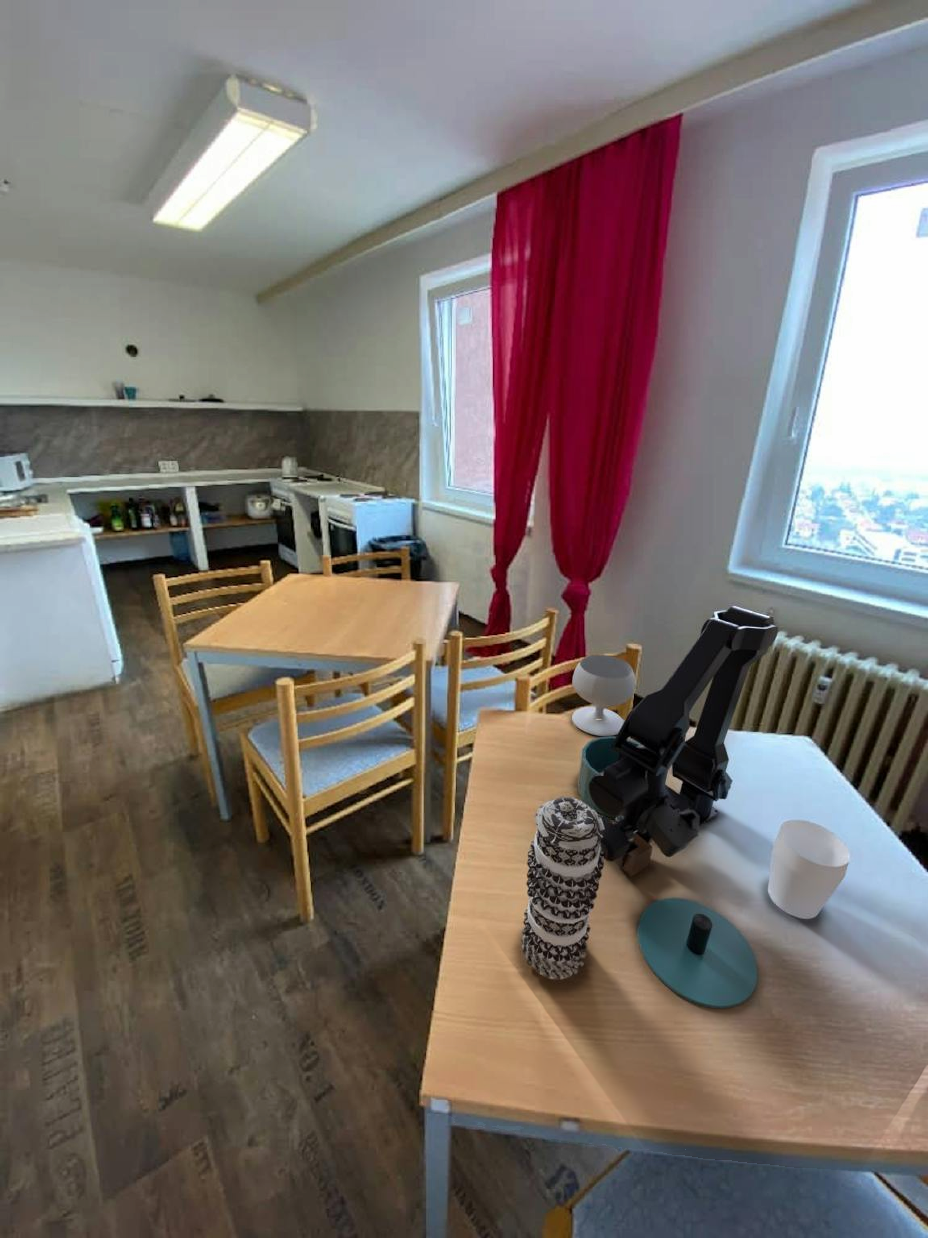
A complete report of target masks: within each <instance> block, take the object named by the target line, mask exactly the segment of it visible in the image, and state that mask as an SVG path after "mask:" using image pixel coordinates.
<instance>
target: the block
mask: <svg viewBox="0 0 928 1238" xmlns="http://www.w3.org/2000/svg"><path fill="white" fill-rule="evenodd" d="M634 835H635V836H634V839H633V842H634V843H635V844H636V845H637V846H639V847H638V848H636V849H635V850H633V851H631V852H630V853H628V856H627V859H626V861H625V864H624V866H623V867H620V866H619V865H618V864H617V863H616V860H614V861H613V862H614V863H615V864H616V865H617V866H618V867H620V868H621V869H622V870H623V871H624V872H625V873H626V874H627V875H628V876H629V877H632V876H634V875H636V874H637V873H639V872H641V871H642V870H644V869H645V868H647V867H649V865H650V862H651V856H652V853H653V848H654V847H653V846H652V845H651V843H650V844H648V843H647V842H646V841H645V840H644V839H642V838H641V837H640V836H639V835H638V834H636V833H634Z"/></svg>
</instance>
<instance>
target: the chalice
mask: <svg viewBox="0 0 928 1238" xmlns="http://www.w3.org/2000/svg"><path fill="white" fill-rule="evenodd" d="M571 683H572V687H573V689H574V691H575V692H576V693H577V695H578V696H579V697H580V698H582V699H583V700H584V701H586V702H588V703H590V704H593V706H583V707H581V708H578V709H577V710H575V711H574V712H573V713H572V716H571V720H572V722H573V725H575V726H576V727H577V728H578V729H580V730H581V731H583V732H585V733H587V734H591V735H595V736H599V737H609V736H615V735H616V736H617V734H618V733H619V731H620V729H621V727H622V725H623V723H624V722H625V720H624V719H623V718H622V717H621V716H620V715H619V714H617V713H616V712H614V711H613V710H610V709H608V708H607V707H615V706H619V705H622V704H625V703H626V702H628V701H629V700H630V699H632V697H633V695H634V694H635V692H636V676H635V672H634V670H633V668H632V666H631V664H630V663H628V662H627V661H625V660H623V659H621V658H618V657H616V656H612V655H606V654H593V655H592V654H591V655H588V656H585V657H583V658H582V659H581V660H580V661H579V662H578V664H577V665H576V667H575V669H574V671H573V675H572V681H571ZM596 719H602V720H596ZM606 721H607V722H606ZM610 721H611V722H610Z"/></svg>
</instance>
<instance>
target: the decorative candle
mask: <svg viewBox="0 0 928 1238" xmlns="http://www.w3.org/2000/svg"><path fill="white" fill-rule="evenodd" d="M600 816H601V815H599V813H598V812H597V811H595V810H593V809H592V808H591V807H589V806H588V805H587V804H586V803H585V802H584V801H583V800H581V799H577V798H574V797H563V796H562V797H559V798H555V799H552V800H548V801H546V802H544V803H543V804H542V805H540V806H539V807H538V808H537V811H536V813H535V815H534V820H535V826H536V832H535V834H534V839H533V841H532V842H531V843H530V846H529V847H530V848H529V849H530V850H529V851H528V852H527V858H528V859H527V861H526V865H527V867H528V868H529V869H528V870H527V873H526V877H527V880H526V881H525V885H526V887H527V891H526V893H527V896H528V901H527V909H526V910H524V912H523V916H524V917H525V918H524V919H523V925H524V926H523V928H522V929H521V930H522V931H521V933H522V934H521V935H522V936H521V943H522V945H521V952H522V954H524V956H525V960H526V962H527V964H528V965H530V966H531V967H532V969H533V970H534V971H535V973H538V974H539V975H541V976H543V977H544V978H547V979H551V980H557V981H559V980H563V979H564V980H565V979H567V980H568V979H570V978H571V976H572V975H573V974H574V975H577V974H578V973H579V969H578V968H579V967H584V965H585V963H584V961H583V960H582V959H585V958H586V956H587V952H586V951H584V950H586V949H588V944H587V941H588V940H589V938H590V936H589V932H590V931H591V926H590V925H589V918H590V913H591V912H592V911H593V909H594V908H595V902H594V901H595V900H596V899H597V897H598V895H597V894H598V893H597V892H598V891H599V887H600V882H599V881H600V880H601V878H602V876H603V872H602V871H603V869H604V867H605V861H604V860H605V853H604V851H602V845H601V844H600V840H601V839H602V837H603V833H604V825H603V822H602V819H601V818H600Z"/></svg>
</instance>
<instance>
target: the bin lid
mask: <svg viewBox="0 0 928 1238" xmlns="http://www.w3.org/2000/svg"><path fill="white" fill-rule="evenodd" d="M637 942H638V946H639V949H640V952H641V954H642V956H643V959H644V960H645V963H646V964H647V966H648V967H649V969H650V970H651V971H652V972H653V974H654V975H655V976H656V977H657V979H658V980H659V981H660V982H661V983H662V984H664V985H665V987H667V988H668V989H669V990H670V991H672V992H673V993H675V994H677V995H678V996H679V997H681V998H683V999H685V1000H687V1001H689V1002H691V1003H694V1004H696V1005H699V1006H702V1007H705V1008H711V1009H729V1008H730V1009H731V1008H733V1007H737V1006H740V1005H742V1004H743V1003H745V1002H746V1001H747V1000H748V999H749V998H750V997H751V996H752V994H753V993H754V991H755V989H756V987H757V983H758V976H759V975H758V974H759V973H758V965H757V961H756V957H755V954H754V952H753V949H752V948H751V945H750V944H749V942H748V941H747V939H746V937H744V936H743V934H742V933H741V931H740V930H739V929H738V928H737V927H736V926H735V925H734V924H733V923H731V921H729V919H727V918H726V917H724V915H722V914H721V913H719V912H718V911H716V910H715V909H713V908H711V907H709V906H707V905H705V904H704V903H703V904H702V903H700V902H697V901H695V900H691V899H688V898H680V897H670V898H668V897H667V898H662V899H659V900H655V901H654V902H652V903H651V904H649V905H648V906H647V907H646V908H645V909H644V910H643V912H642V913H641V915H640V917H639V921H638V924H637Z"/></svg>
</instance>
